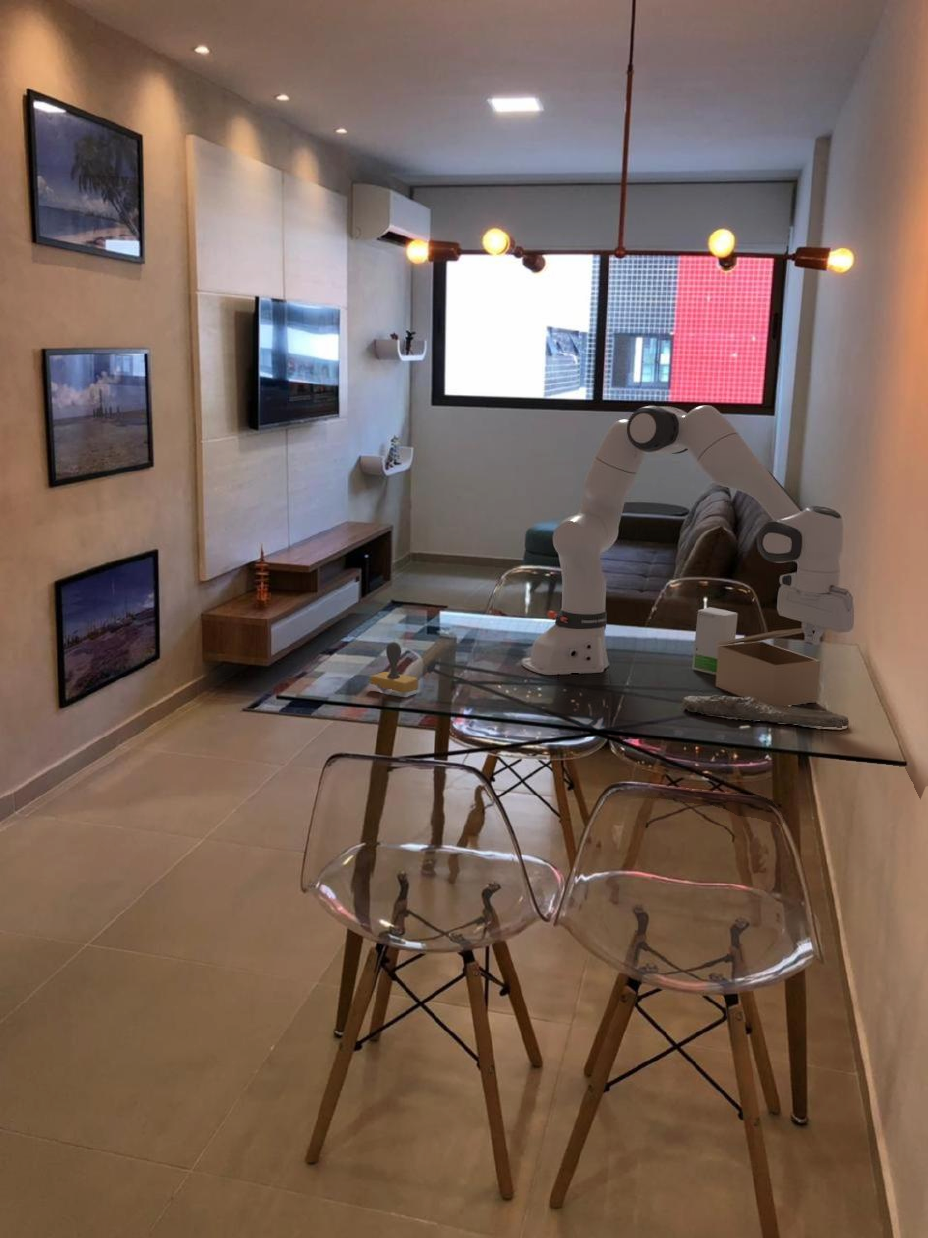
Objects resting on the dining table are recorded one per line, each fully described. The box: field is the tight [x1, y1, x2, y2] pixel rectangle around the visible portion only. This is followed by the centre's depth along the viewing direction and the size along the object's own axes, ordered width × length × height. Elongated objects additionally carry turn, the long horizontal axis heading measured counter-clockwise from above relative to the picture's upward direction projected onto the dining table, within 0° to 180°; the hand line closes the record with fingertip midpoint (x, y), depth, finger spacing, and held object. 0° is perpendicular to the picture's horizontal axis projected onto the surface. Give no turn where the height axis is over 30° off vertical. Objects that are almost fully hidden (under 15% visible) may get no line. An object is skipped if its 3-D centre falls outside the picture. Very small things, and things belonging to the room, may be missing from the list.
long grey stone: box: [681, 694, 850, 728], centre depth 232 cm, size 35×5×10 cm
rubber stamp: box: [369, 641, 419, 693], centre depth 246 cm, size 10×6×12 cm, turn 56°
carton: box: [715, 640, 821, 706], centre depth 250 cm, size 13×20×10 cm, turn 25°
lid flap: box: [718, 626, 814, 645], centre depth 248 cm, size 13×20×1 cm, turn 25°
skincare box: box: [691, 606, 739, 676], centre depth 269 cm, size 8×7×16 cm
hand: (811, 643), depth 235 cm, fingers closed
